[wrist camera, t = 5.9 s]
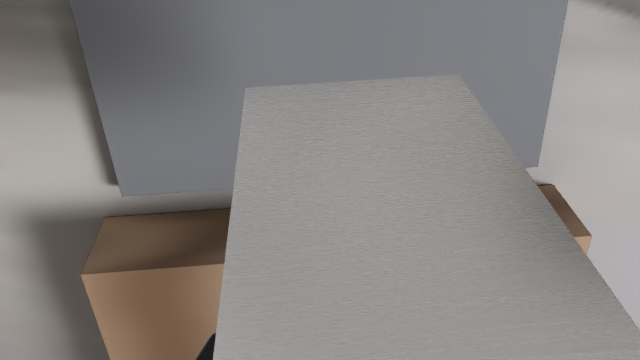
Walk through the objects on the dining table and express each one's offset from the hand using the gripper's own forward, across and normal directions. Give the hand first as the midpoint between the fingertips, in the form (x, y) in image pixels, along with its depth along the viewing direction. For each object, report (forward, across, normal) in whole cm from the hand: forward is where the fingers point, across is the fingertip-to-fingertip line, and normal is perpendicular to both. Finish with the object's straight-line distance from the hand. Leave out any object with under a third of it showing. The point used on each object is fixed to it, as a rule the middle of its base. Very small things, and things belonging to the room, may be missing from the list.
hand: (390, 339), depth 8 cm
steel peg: (+4, 0, 0) cm, 4 cm away
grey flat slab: (+11, 0, 0) cm, 11 cm away
